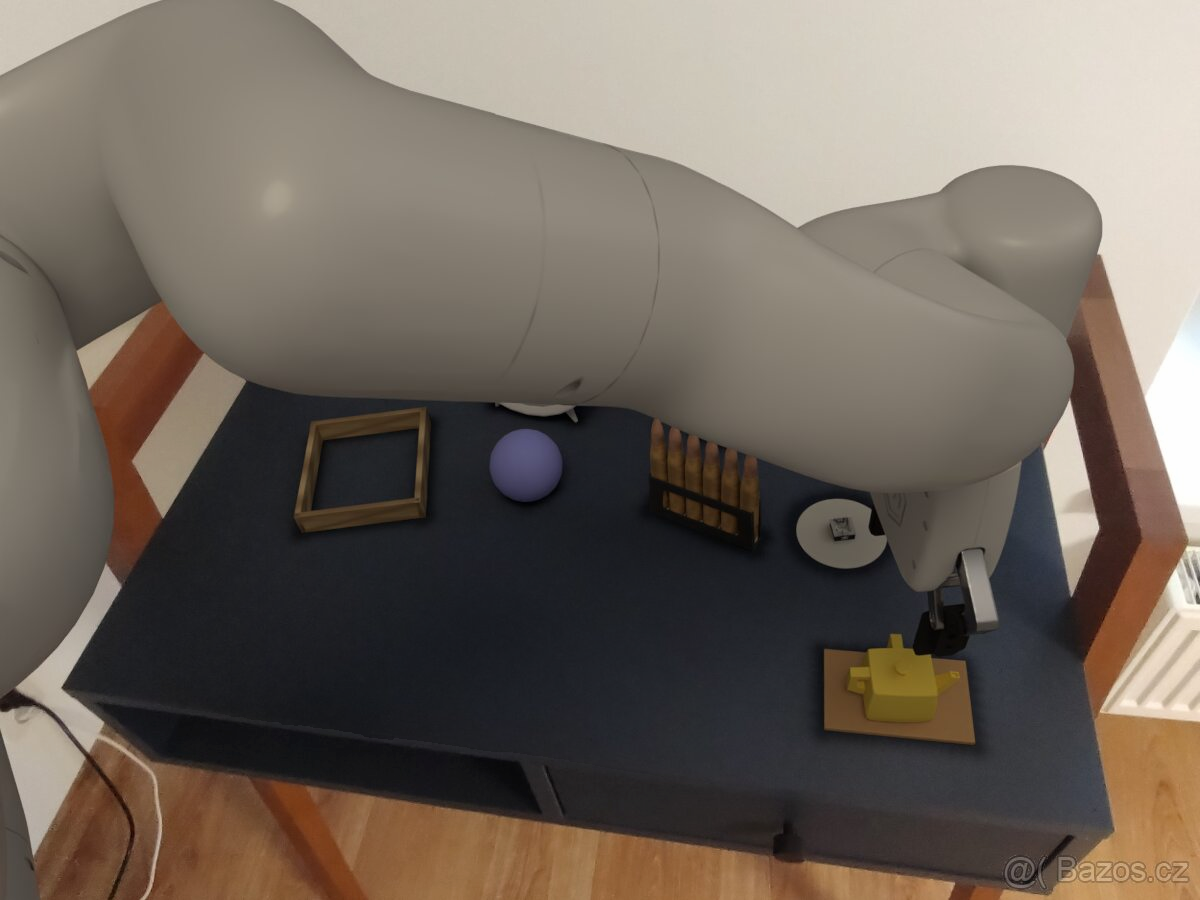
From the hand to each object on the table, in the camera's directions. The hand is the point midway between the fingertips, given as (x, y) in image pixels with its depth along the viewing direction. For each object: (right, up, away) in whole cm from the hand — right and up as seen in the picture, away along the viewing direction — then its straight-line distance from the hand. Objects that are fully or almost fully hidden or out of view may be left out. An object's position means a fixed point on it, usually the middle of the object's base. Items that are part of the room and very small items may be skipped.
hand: (913, 586), depth 62 cm
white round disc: (+1, +1, +23) cm, 23 cm away
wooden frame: (-44, +6, +33) cm, 56 cm away
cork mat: (+2, -10, +11) cm, 15 cm away
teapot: (+2, -10, +11) cm, 15 cm away
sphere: (-28, +5, +30) cm, 41 cm away
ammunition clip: (-11, +2, +25) cm, 27 cm away
